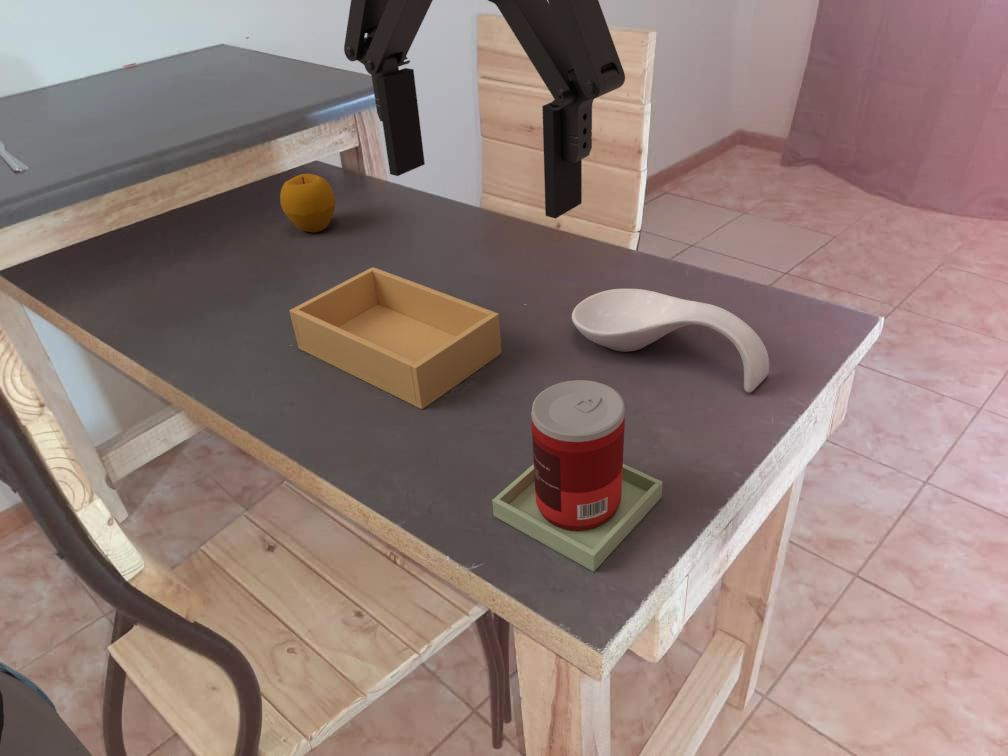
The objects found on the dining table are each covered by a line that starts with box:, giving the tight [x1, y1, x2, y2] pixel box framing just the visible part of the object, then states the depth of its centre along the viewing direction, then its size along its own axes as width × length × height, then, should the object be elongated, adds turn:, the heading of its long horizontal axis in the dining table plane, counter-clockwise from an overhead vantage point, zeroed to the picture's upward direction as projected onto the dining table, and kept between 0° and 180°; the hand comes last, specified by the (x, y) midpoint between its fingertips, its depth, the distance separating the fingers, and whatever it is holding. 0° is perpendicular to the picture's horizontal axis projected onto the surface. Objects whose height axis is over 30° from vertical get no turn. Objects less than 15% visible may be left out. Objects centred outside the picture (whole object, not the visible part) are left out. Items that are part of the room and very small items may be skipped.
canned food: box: [530, 379, 626, 531], centre depth 68 cm, size 8×8×11 cm
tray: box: [491, 463, 663, 573], centre depth 70 cm, size 11×11×2 cm
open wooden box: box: [289, 266, 502, 410], centre depth 93 cm, size 22×14×6 cm, turn 50°
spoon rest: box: [571, 288, 770, 393], centre depth 89 cm, size 24×12×7 cm, turn 51°
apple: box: [279, 173, 336, 233], centre depth 124 cm, size 9×8×9 cm
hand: (480, 188), depth 51 cm, fingers open, 13 cm apart
